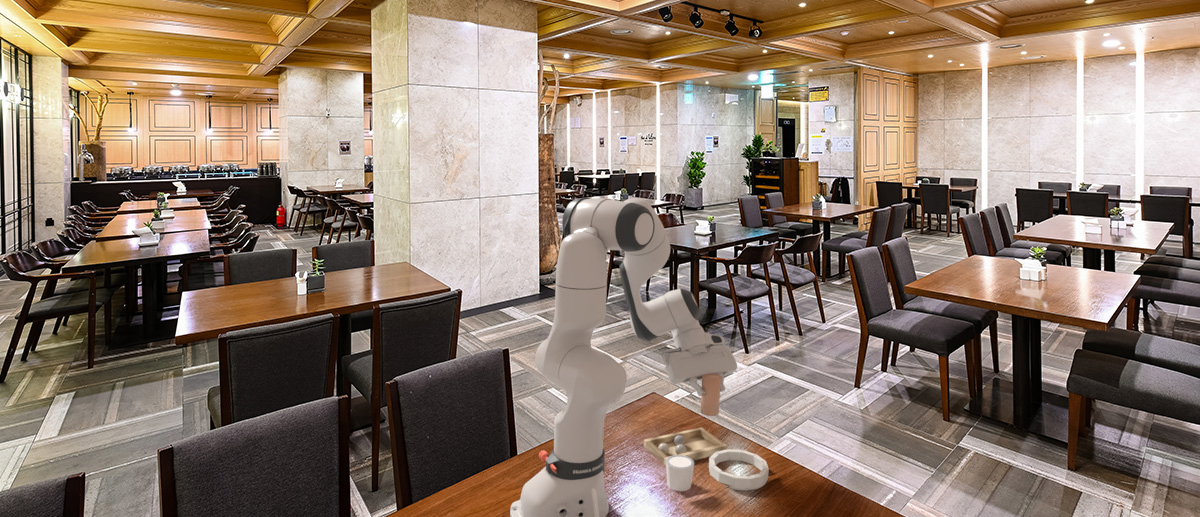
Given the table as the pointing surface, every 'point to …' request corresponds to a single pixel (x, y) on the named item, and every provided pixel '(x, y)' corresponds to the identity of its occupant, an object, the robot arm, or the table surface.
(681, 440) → the pebble
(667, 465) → the shot glass
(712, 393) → the peach cylinder
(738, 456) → the bowl
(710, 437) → the parts tray
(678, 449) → the pebble
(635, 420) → the table surface
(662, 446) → the pebble
